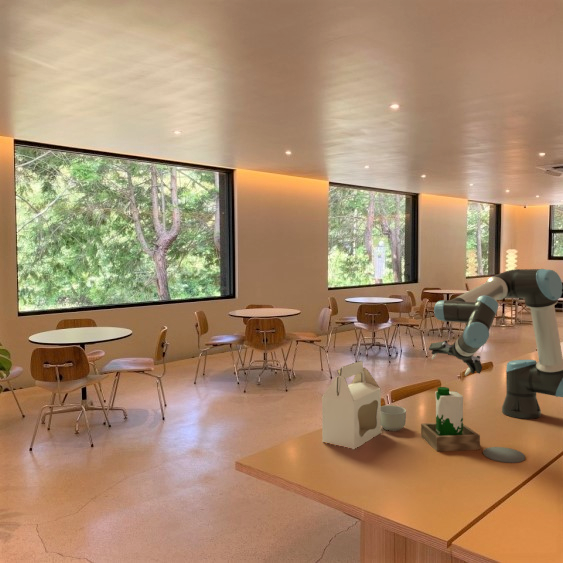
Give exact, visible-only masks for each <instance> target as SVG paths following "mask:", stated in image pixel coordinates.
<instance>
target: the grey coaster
mask: <svg viewBox="0 0 563 563" xmlns="http://www.w3.org/2000/svg"><path fill="white" fill-rule="evenodd" d="M482 453H483V454H484V455H485V456H486V457H485V456H484V455H483V456H484V457H485V458H487V457H488V458H487V459H489V458H490V459H489V460H492V461H495V462H499V463H510V464H515V463H521V462H524V461H525V459H526V456H525V454H524V453H523V452H521V451H519V450H517V449H515V448H510V447H509V448H508V447H505V446H504V447H503V446H491V447H485V448H484V449H483V450H482Z"/></svg>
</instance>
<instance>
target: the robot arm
mask: <svg viewBox="0 0 563 563" xmlns="http://www.w3.org/2000/svg"><path fill="white" fill-rule="evenodd" d="M562 295H563V282H562V279H561V277H560V275H559V274H558V272H557V271H555V270H553V269H547V268H546V269H545V268H540V269H539V268H533V269H531V268H530V269H529V268H526V269H521V268H520V269H519V268H517V269H516V268H515V269H514V268H513V269H510V270H509V269H508V270H506V271H503V272H500V273H498V274H496V275H493V276H490V278H488V279H486V281H485V283H482V284H481V285H479V286H478V285H477V287H475V288H473V289H470V290H469V291H466V292H465V293H462V294H460V295H458V296H456V297H455V298H452V299H450V300H446V299H444V300H438V301H437V302H436V303H435V305H434V308H433V313H434V317H435V319H437V320H438V321H441V322H442V321H443V322H445V323H447V322H451V323H462V324H463V323H465V326H464V329H463V331H462V332H461V334H460V335H459V337H457V339H456V340H455V341H454V342H453V344H449V342H448V340H443V341H439V342H431V343H430V345H429V347H428V350H429V351H431V354H432V356H431V360H434V359H435V358H436V356H437V355H438V354H442V355H443V354H444V355H445V354H446V355H448V356H453V357H455V358H457V359H459V360H460V361H461V360H462V362H463V363H464V364H466V365H467V366H468V367H467V368H466V370H465V373H464V376H468V375H469V374H470V373H471V374H473V375H474V374H475V372H476V373H477V374H481V373H482V370H483V366H482V363H481V356H479V355H475V356H474V354H476V353H477V352H478V350H480V348H482V346H484V345H485V344H486V343H487V342H488V340H489V338H490V329H491V327H492V325H493V322H494V320H495V317H496V316H497V312H498V309H499V302H498V301H501V300H504V299H510V298H511V299H513V298H514V299H524V300H523V301H524V305H525V306H526V307H527V308H529V309H530V310H529V311H530V315H531V320H532V327H533V334H534V338H535V344H536V349H537V351H536V352H537V356H538V361H537V360H536V359H515V360H510V361H508V362H507V363H506V369H505V372H506V373H505V374H506V375H505V376H506V378H505V379H506V381H505V382H506V383H505V384H506V396H505V398H504V401H503V404H502V407H501V413H502V414H504V415H506V416H508V417H511V418H517V419H527V420H528V419H530V420H531V419H538V418H541V415H542V410H541V406H540V404H539V401H538V399H537V394H543V395H546V396H553V397H556V398H563V351H562V346H561V345H562V344H561V340H560V339H561V338H560V333H559V327H558V322H557V314H556V309H555V305H557V304H558V302H559V300H560V299H561V297H562Z"/></svg>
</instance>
